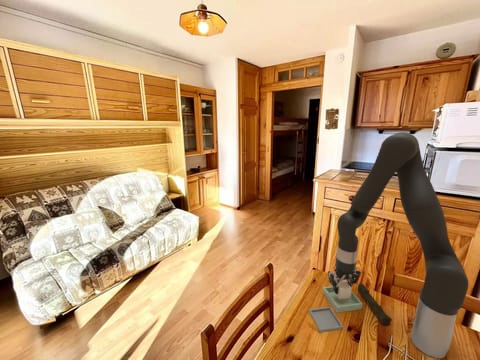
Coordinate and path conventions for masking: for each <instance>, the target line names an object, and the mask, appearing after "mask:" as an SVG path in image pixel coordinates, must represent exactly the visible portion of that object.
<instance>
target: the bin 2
mask: <svg viewBox="0 0 480 360" xmlns="http://www.w3.org/2000/svg"><path fill="white" fill-rule="evenodd" d="M322 293H323V295H324V296H325V297H326V299H327V301H328V302H329V303H330V304H331V307H332V308H333V309H334V311H335V312H336V313H342V312H343V313H344V312H353V311H357V310H358V311H359V310H362V309H363V306H364V304H363V303H362V301H361V299H359V297H358V296H357V295H355V293H354V292H353V290H352V291H351V298H345V299H339V298H338V297H337V295H336V294H335V293H334V291H333V286H332V285H331V286H324V287H323V288H322Z"/></svg>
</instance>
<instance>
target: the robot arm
mask: <svg viewBox="0 0 480 360" xmlns="http://www.w3.org/2000/svg"><path fill="white" fill-rule="evenodd" d="M395 174H396V175H397V181H398V187H399V188H398V189H399V197H400V202H401V206H402V209H403V211H404V214H405V217H406V219H407V221H408V222H407V223H408V224H409V226H410V227H411V229H412V230H413V233H414V234H415V235H416V237H417V238H418V241H419V243H420V246H421V249H422V250H421V251H422V253H423V258H424V267H425V277H424V281H423V286H422V288H421V289H420V292H419V297H418V302H417V306H416V311H415V315H414V319H413V324H412V327H411V333H410V340H411V341H412V343H413V345H414V346H415V347H416V348H417V349H418V350H420V352H421V353H424V355H426V356H429V357H430V358H434V359H444V358H445V357H446V355H447V353H448V352H449V350H450V346H451V342H452V340H453V339H452V338H453V336H454V332H455V329H454V327H455V324H456V320H457V316H458V313H459V310H461V308H462V307H463V305H464V302H465V299H466V297H467V293H468V289H469V279H468V276H467V273H466V271H465V268H464V266H463V264H462V263H461V261H460V259H459V258H458V256H457V254H456V252H455V250H454V248H453V246H452V244H451V241H450V238H449V235H448V226H447V222H446V218H445V213H444V210H443V207H442V205H441V201H440V199H439V197H438V195H437V193H436V191H435V189H434V188H435V187H434V186H433V184H432V181H431V180H430V178H429V176H428V174H427V172H426V169H425V167H424V163H423V158H422V154H421V149H420V143H419V140H418V138H416V136H414V135H413V134H411V133H410V132H403V131H402V132H397V133H393V134H391V135H390V136H388V137H386V138H385V139H384V140H383V142H381V146H380V148H379V151H378V153H377V156H376V158H375V161H374V163H373V166H372V167H371V169H370V171H369V173H368V175H367V176H366V178H365V179H364V180H363V182H362V183H361V185H360V187H359V188H358V190H357V192H356V193H355V194H354V196H353V198H352V200H351V202H350V208H349V209H348V210H347V211H346V212H345V213H343V214H341V215H340V216H339V217H338V219H337V223H336V225H337V232H338V236H339V237H338V241H337V248H336V255H335V268H334V270H333V271H330V270H329V271H327V276H328V282H329V284H330V285H331V286H333V291H334V292H335V293H336V294H338V290H339V285H340V283H342V281H343V280H345V281H346V282H347V283H348V284H349V285H350V286H351V287H352V288H353V285H357V284H358V281H359V279H360V277H361V274H362V273H361V271H360V270H359V269H358V268H357V259H358V246H359V237H358V236H357V235H356V232H357V229H358V228H360V227H361V226H362V225H363V224H364V223H365V222H366V219H367V218H368V216H369V214H370V212H371V210H372V209H373V207H375V206H376V203H377V202H378V201H379V199H380V197H382V194H383V193H384V190H385V189H386V187H387V185H389V182H390V180H391V179H392V178H393V176H395ZM336 282H337V283H336Z"/></svg>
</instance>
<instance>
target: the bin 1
mask: <svg viewBox="0 0 480 360" xmlns="http://www.w3.org/2000/svg"><path fill="white" fill-rule="evenodd" d="M331 307H332V306H325V307H324V306H323V307H317V308H309V309H308V312H309V315H310V316H311V319H312V320H313V322H314V324H315V326H316V327H317V330H318V331H319V333H324V332H325V333H326V332H332V331H339V330H343V329H344V326H343V324H342V322H341V321H340V320H339V318H338V316H337V314H335V312H334V310H333V309H332V308H331Z"/></svg>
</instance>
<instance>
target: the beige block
mask: <svg viewBox="0 0 480 360" xmlns="http://www.w3.org/2000/svg"><path fill="white" fill-rule="evenodd" d="M336 283H337V282H336ZM351 291H352V292H353V286H352V287H351V286H350V285H349V284H348V283H347V280H343V281H342V283H340V285H339V290H338V294H336V293H335V292H334V293H335V294H336V295H337V297H338V298H339V299H345V298H351Z"/></svg>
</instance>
